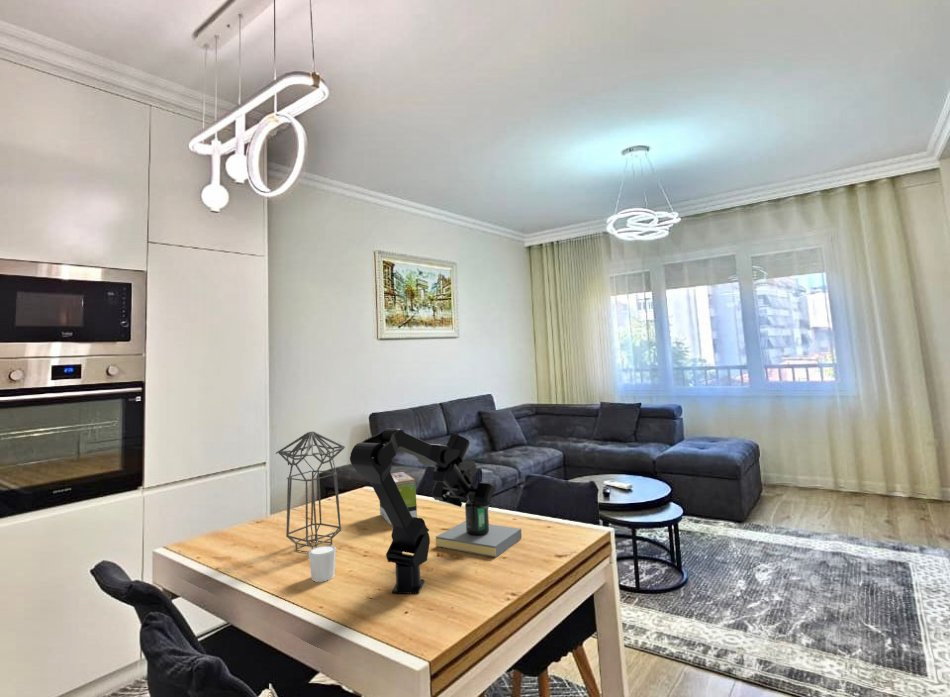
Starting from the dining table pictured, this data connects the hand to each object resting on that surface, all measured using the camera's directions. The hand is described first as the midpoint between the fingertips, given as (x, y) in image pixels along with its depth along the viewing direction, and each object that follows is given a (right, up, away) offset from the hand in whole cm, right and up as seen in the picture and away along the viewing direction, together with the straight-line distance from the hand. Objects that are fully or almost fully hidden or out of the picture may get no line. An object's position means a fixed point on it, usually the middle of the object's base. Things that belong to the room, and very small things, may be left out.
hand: (474, 507), depth 144 cm
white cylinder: (-39, -12, -19) cm, 45 cm away
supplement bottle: (+1, -8, +1) cm, 8 cm away
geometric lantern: (-48, -14, +4) cm, 51 cm away
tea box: (-27, -14, +30) cm, 43 cm away
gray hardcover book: (+1, -11, +1) cm, 11 cm away
